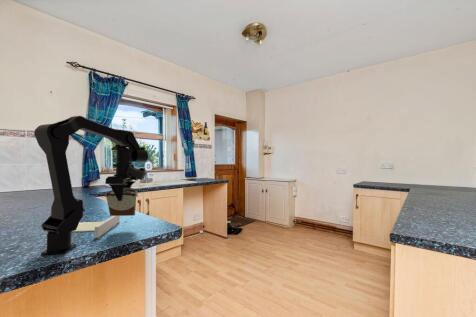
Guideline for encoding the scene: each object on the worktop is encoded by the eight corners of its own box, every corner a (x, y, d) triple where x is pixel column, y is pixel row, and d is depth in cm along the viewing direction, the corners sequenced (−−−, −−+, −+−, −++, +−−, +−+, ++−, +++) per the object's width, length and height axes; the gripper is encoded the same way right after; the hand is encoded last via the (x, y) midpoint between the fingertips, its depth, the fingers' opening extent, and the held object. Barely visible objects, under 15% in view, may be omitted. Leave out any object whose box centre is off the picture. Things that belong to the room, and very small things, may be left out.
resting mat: (100, 230, 85) (100, 230, 85) (58, 232, 82) (58, 231, 82) (113, 222, 96) (113, 221, 96) (77, 223, 94) (77, 222, 94)
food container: (143, 209, 92) (142, 187, 90) (138, 215, 86) (136, 192, 84) (113, 209, 91) (111, 187, 89) (106, 216, 85) (104, 192, 83)
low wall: (98, 237, 77) (98, 226, 77) (94, 238, 77) (94, 227, 77) (119, 222, 97) (119, 213, 97) (116, 222, 97) (116, 213, 97)
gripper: (137, 162, 79) (136, 203, 79) (150, 162, 98) (149, 195, 97) (105, 161, 78) (104, 204, 77) (124, 161, 96) (123, 196, 96)
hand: (123, 199), depth 87 cm, fingers closed on food container, 6 cm apart
